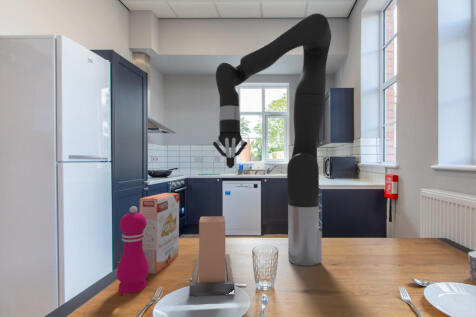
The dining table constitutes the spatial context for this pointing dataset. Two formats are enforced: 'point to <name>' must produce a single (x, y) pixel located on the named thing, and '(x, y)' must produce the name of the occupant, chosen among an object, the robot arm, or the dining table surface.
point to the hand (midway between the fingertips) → (230, 167)
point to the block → (212, 249)
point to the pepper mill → (132, 254)
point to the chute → (212, 287)
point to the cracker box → (160, 229)
